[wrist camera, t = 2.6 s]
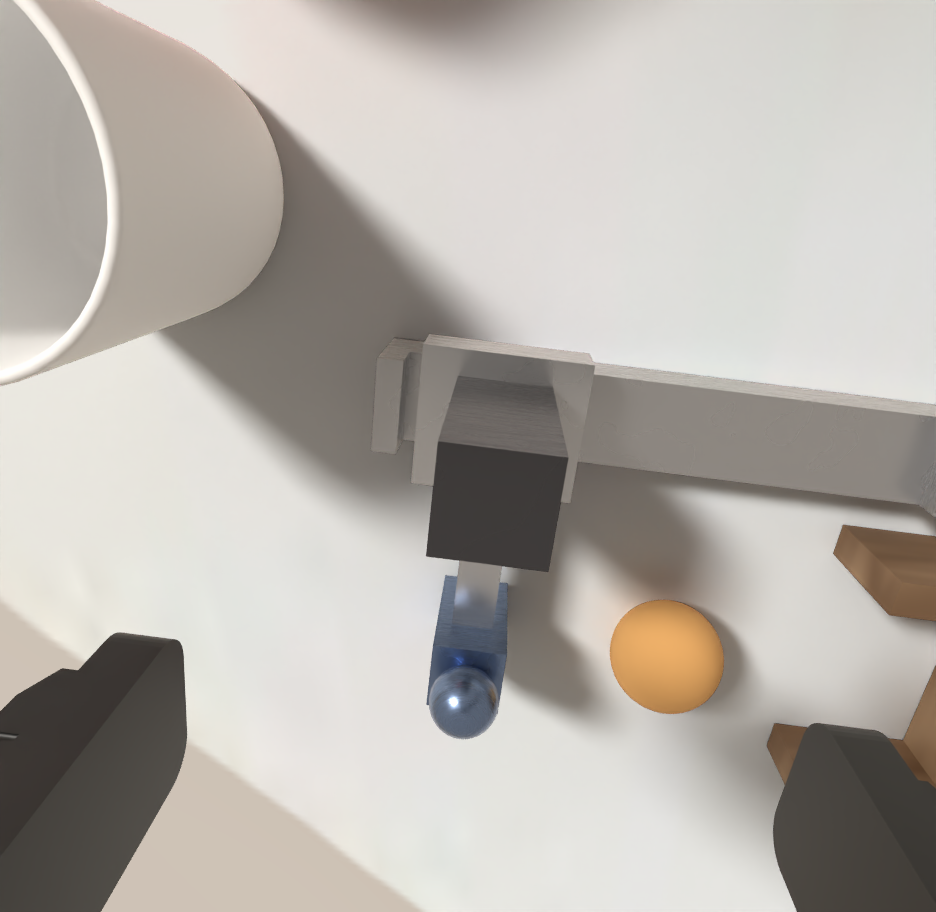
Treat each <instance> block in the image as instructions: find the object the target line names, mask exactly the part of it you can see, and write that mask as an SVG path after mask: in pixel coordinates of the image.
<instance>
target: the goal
mask: <svg viewBox="0 0 936 912" xmlns="http://www.w3.org/2000/svg"><path fill="white" fill-rule="evenodd" d="M833 554H834V555H835V556H836V557H837V558H838V559H839V561H840V562H841V563H842V564H843V565H844V566H845V567H846V568H847V569H848V570H849V572H850V573H851V574H852V575H853V576H854V577H855V578H856V579H857V580H858V581H859V583H860V584H861V585H862V586H863V587H864V588H865V589H866V590H867V591H868V592H869V594H870V595H871V596H872V597H873V598H874V599H875V600H876V601H877V602H878V603H879V604H880V606H881V607H882V608H883V609H884V610H885V611H886V612H887V613H888V614H889V615H892V616H900V617H907V618H915V619H923V620H931V621H936V537H935V536H927V535H919V534H911V533H904V532H896V531H888V530H880V529H872V528H864V527H856V526H848V525H843V527H842V530H841V532H840V535H839V538H838V541H837V544H836V547H835V550H834V553H833ZM806 729H807V728H806V727H799V726H791V725H784V724H776V723H774V726H773V729H772V732H771V735H770V738H769V741H768V743H767V748H768V750H769V752H770V754H771V756H772V758H773V760H774V763H775V765H776V767H777V769H778V771H779V773H780V775H781V777H782V780H783V782H784V784H786V781H787V779H788V776H789V773H790V770H791V768H792V765H793V762H794V759H795V756H796V754H797V751H798V748H799V745H800V743H801V740H802V737H803V735H804V733H805V731H806ZM888 739H889V740H890V742H891V743H892V744H893V746H894V747H895V748H896V750H897V751H898V753H899V754H900V755H901V757H902V758H903V760H904V761H905V762H906V764H907V765H908V767H909V768H910V769H911V771H912V772H913V774H914V775H915V776H916V778H917V779H918V780H921V781H928V782H929V783H930V784H931V785H932V786H934V787H935V788H936V666H935V668H934V671H933V673H932V675H931V677H930V680H929V682H928V684H927V687H926V689H925V691H924V693H923V696H922V698H921V700H920V703H919V705H918V707H917V709H916V712H915V714H914V716H913V719H912V721H911V723H910V725H909V728H908V730H907V732H906V735H905V737H904V739H903V740H897V739H890V738H888Z"/></svg>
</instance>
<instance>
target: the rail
mask: <svg viewBox="0 0 936 912" xmlns="http://www.w3.org/2000/svg"><path fill="white" fill-rule="evenodd" d="M423 344H424V342H423V341H415V340H407V339H399V338H394V339H393V340H392V341H391V342H390V343H389V345H388V346H387V347H386V348H385V349H384V350H383V352H382V353H381V354H380V355H379V356H378V357H377V364H376V379H375V395H374V410H373V426H372V441H371V451H374V452H382V453H389V454H396V453H397V451H398V449H399V447H400V444H401V442H402V440H409V441H415V430H416V419H417V408H418V397H419V385H420V374H421V363H422V352H423ZM594 364H595V370H594V376H593V381H592V387H591V392H590V398H589V403H588V409H587V414H586V420H585V425H584V431H583V436H582V441H581V447H580V452H579V458H578V462H583V463H591V464H599V465H607V466H615V467H623V468H631V469H639V470H646V471H654V472H662V473H670V474H678V475H686V476H694V477H702V478H710V479H718V480H726V481H734V482H741V483H749V484H757V485H765V486H773V487H781V488H789V489H797V490H805V491H813V492H821V493H829V494H837V495H844V496H852V497H860V498H868V499H876V500H884V501H892V502H900V503H908V504H916V505H919V506H920V507H922V508H923V509H924V510H926V511H927V512H928V513H930V514H931V515H932V516H934V517H935V518H936V405H932V404H924V403H916V402H908V401H900V400H892V399H884V398H876V397H868V396H860V395H851V394H843V393H835V392H827V391H819V390H811V389H803V388H795V387H787V386H779V385H771V384H763V383H755V382H746V381H738V380H730V379H722V378H714V377H706V376H698V375H690V374H682V373H674V372H666V371H658V370H650V369H641V368H633V367H625V366H617V365H609V364H601V363H594Z"/></svg>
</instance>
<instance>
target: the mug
mask: <svg viewBox="0 0 936 912" xmlns="http://www.w3.org/2000/svg"><path fill="white" fill-rule="evenodd" d="M283 203H284V192H283V178H282V172H281V167H280V162H279V158H278V155H277V151H276V148H275V145H274V142H273V140H272V137H271V135H270V133H269V131H268V128H267V126H266V124H265V122H264V120H263V119H262V117H261V115H260V114H259V112H258V110H257V108H256V107H255V106H254V104H253V103H252V102H251V100H250V99H249V97H248V96H247V95H246V93H245V92H244V91H243V90H242V89H241V88H240V87H239V86H238V85H237V84H236V82H235V81H234V80H233V79H232V78H231V77H230V76H229V75H228V74H227V73H226V72H224V71H223V70H222V69H221V68H220V67H219V66H217V65H216V64H215V63H214V62H213V61H211V60H210V59H208V58H207V57H205V56H204V55H202V54H200V53H199V52H197V51H196V50H194V49H193V48H191V47H190V46H188V45H186V44H184V43H182V42H180V41H178V40H176V39H174V38H172V37H170V36H168V35H166V34H164V33H162V32H159V31H157V30H155V29H153V28H151V27H149V26H147V25H145V24H143V23H141V22H139V21H137V20H135V19H133V18H130V17H128V16H126V15H124V14H122V13H120V12H118V11H116V10H114V9H112V8H110V7H108V6H106V5H103V4H101V3H99V2H97V1H95V0H0V386H3V385H7V384H11V383H15V382H19V381H21V380H24V379H27V378H30V377H32V376H35V375H38V374H40V373H43V372H46V371H49V370H51V369H54V368H57V367H60V366H62V365H65V364H68V363H71V362H73V361H76V360H79V359H81V358H84V357H87V356H90V355H92V354H95V353H98V352H101V351H103V350H106V349H109V348H111V347H114V346H117V345H120V344H122V343H125V342H128V341H131V340H133V339H136V338H139V337H142V336H144V335H147V334H150V333H152V332H155V331H158V330H161V329H163V328H166V327H169V326H172V325H174V324H177V323H180V322H182V321H185V320H188V319H191V318H193V317H196V316H199V315H201V314H203V313H206V312H208V311H211V310H213V309H215V308H218V307H219V306H221V305H223V304H224V303H226V302H228V301H229V300H231V299H233V298H234V297H236V296H237V295H238V294H239V293H241V292H242V291H243V290H244V289H246V288H247V287H248V286H249V285H250V284H251V282H252V281H253V280H254V279H255V278H256V277H257V276H258V275H259V273H260V272H261V270H262V269H263V267H264V266H265V264H266V263H267V261H268V260H269V257H270V255H271V253H272V251H273V249H274V247H275V244H276V241H277V238H278V235H279V232H280V227H281V222H282V216H283Z"/></svg>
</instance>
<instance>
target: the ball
mask: <svg viewBox="0 0 936 912" xmlns="http://www.w3.org/2000/svg"><path fill="white" fill-rule="evenodd" d="M610 660H611V666H612V669H613V672H614V675H615V677H616V679H617V681H618V683H619V685H620V686H621V687H622V689H623V690H624V691H625V693H626V694H627V695H628V696H629V697H630V698H631V699H633V700H634V701H635V702H637V703H638V704H640V705H641V706H643V707H645V708H647V709H650V710H652V711H655V712H659V713H666V714H677V713H683V712H687V711H690V710H693V709H695V708H697V707H699V706H700V705H702V704H703V703H705V702H706V701H707V700H708V699H709V698H710V697H711V696H712V694H713V693H714V692H715V690H716V689H717V687H718V685H719V683H720V680H721V677H722V674H723V667H724V656H723V649H722V645H721V642H720V639H719V637H718V635H717V633H716V631H715V629H714V628H713V626H712V625H711V624H710V623H709V621H708V620H707V619H706V618H705V617H704V616H703V615H702V614H700V613H699V612H698V611H696V610H695V609H693V608H692V607H690V606H688V605H685V604H683V603H680V602H676V601H672V600H654V601H649V602H645V603H643V604H640V605H638V606H636V607H634V608H633V609H631V610H630V611H629V612H628V613H626V614H625V615H624V617H623V618H622V619H621V620H620V622H619V623H618V625H617V626H616V628H615V630H614V633H613V636H612V639H611V645H610Z"/></svg>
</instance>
